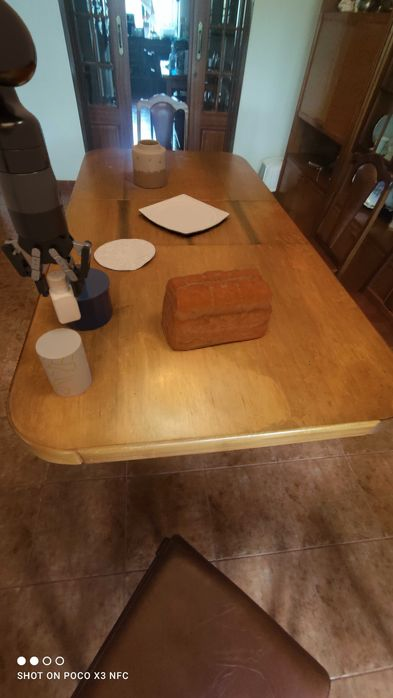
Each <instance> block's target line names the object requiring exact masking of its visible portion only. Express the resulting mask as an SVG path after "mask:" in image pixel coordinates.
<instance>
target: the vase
mask: <svg viewBox="0 0 393 698" xmlns="http://www.w3.org/2000/svg"><path fill="white" fill-rule="evenodd" d="M131 157H132V172H133V183H134V185H135V186H137V187H139V188H141V189H142V188H143V189H151V190H153V189H155V190H156V189H160V188H163V187H165V186H166V184H167V149H166V147H165V146H163V145H162V144H161V142H160V141H159V140H156V139H150V138H147V139H139V140H138V141H137V144H134V145H133V146H132V147H131Z"/></svg>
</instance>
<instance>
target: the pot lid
mask: <svg viewBox="0 0 393 698" xmlns="http://www.w3.org/2000/svg"><path fill="white" fill-rule="evenodd" d="M76 265H77V266H78V268H80V267H81V263H76ZM65 273H66V272H65ZM66 275H67V273H66ZM67 279H68V282H69V285H71V283H70V280H71V279H70V278H69V276H68V275H67ZM81 281H82V286H83V290H82V293H81V295H79V298H76V300H77V302H84V301H89V300H92V299H95V298H97V297H99V296H101V295H102V294H104V293H105V292H106V291H107V290H108V288H109V289H110V285H111V281H110V277H109V275H108V274H107V273H106V272H105V271H103V270H101V269H98V268H94V267H90V270H89V272H88V276H87V278H85V279H84V278H81ZM49 288H51V287H50V286H49Z"/></svg>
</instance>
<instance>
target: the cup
mask: <svg viewBox="0 0 393 698" xmlns="http://www.w3.org/2000/svg"><path fill="white" fill-rule="evenodd" d="M35 351H36V354H37V355H38V358H39V360H40V362H41V365H42V366H43V369H44V372H45V374H46V376H47V379H48V381H49V383H50V385H51V387H52V389H53V391H54V393H55V394H56V395H58V396H60V397H62V398H73V397H77V396H80V395H82V394H84V393H85V392H86V391H87V390H89V388H90V387H91V385H92V383H93V376H92V372H91V369H90V365H89V362H88V359H87V355H86V352H85V348H84V345H83V340H82V338H81V335H80V333H79V332H78V331H77V330H74V329H71V328H64V327H63V328H55V329H52V330H49V331H47V332H45V333H43V334H42V335H41V336H40V337H39V338H38V339H37V341H36V343H35Z"/></svg>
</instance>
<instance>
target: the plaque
mask: <svg viewBox="0 0 393 698" xmlns="http://www.w3.org/2000/svg"><path fill="white" fill-rule="evenodd" d="M155 254H156V247H155V246H154V244H153V243H151V242H150V241H147V240H145V239H140V238H121V239H120V238H119V239H115V240H112V241H108V242H106V243H104V244H102V245H100V246H99V247H98V248H97V249H96V250H95V251H94V252H93V258H94V259H95V261H96V262H97V263H98V264H99V265H100V266H102V267H104V268H107V269H110V270H114V271H136V270H138V269H141V268H142V267H143V266H144V265H145V264H146V263H147V262H149V261H151V259H153V258H154V257H155Z"/></svg>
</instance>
